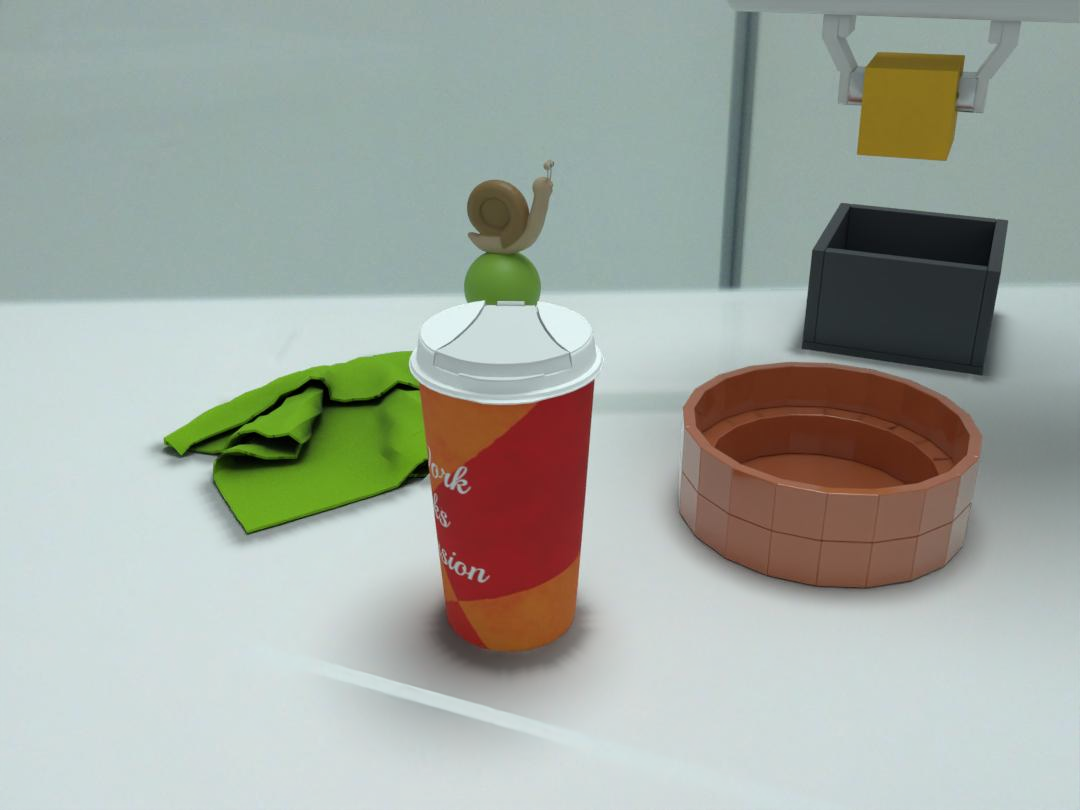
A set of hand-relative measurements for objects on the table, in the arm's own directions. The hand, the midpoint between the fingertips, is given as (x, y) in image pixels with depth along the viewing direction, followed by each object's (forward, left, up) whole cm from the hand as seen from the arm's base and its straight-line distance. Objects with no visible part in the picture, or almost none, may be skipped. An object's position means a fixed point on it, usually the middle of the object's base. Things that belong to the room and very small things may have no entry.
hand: (909, 107), depth 60 cm
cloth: (+28, +13, -19) cm, 36 cm away
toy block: (0, 0, -2) cm, 2 cm away
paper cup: (+12, +26, -19) cm, 34 cm away
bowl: (+1, +12, -19) cm, 22 cm away
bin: (0, -15, -19) cm, 24 cm away
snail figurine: (+26, -6, -19) cm, 33 cm away
